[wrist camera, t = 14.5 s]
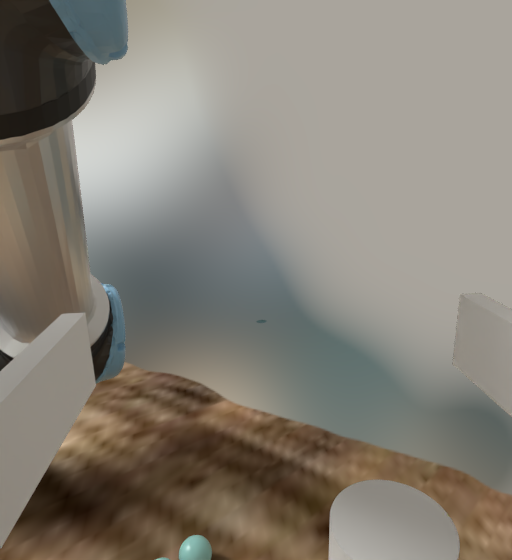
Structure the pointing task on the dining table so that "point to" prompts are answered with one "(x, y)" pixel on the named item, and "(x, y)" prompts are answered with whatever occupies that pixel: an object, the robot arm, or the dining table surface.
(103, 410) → the dining table surface
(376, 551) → the cup
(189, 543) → the marble
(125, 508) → the dining table surface
